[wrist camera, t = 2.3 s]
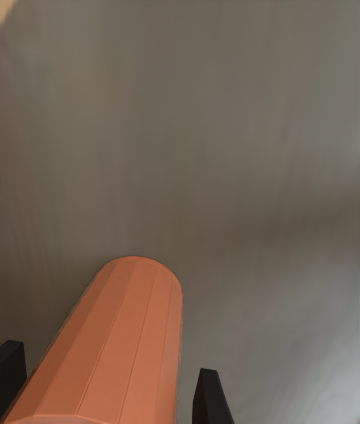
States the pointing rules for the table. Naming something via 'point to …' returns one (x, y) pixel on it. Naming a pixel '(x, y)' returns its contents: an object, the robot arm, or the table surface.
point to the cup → (111, 353)
